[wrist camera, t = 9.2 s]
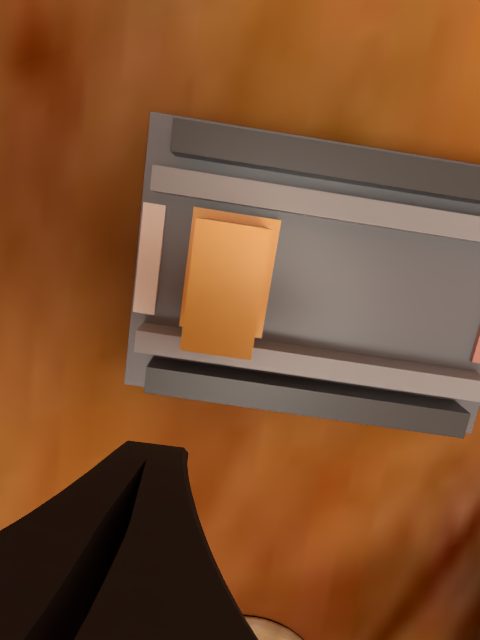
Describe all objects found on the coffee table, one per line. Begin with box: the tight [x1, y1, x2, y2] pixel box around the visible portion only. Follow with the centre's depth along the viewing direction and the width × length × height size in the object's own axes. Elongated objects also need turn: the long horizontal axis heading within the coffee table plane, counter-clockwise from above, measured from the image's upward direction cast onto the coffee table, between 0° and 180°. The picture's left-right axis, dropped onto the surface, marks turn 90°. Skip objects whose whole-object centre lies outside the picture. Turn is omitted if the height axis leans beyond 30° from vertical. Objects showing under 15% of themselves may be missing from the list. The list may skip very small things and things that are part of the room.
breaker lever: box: [179, 207, 281, 360], centre depth 14 cm, size 3×4×4 cm
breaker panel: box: [124, 111, 480, 438], centre depth 16 cm, size 14×10×3 cm
